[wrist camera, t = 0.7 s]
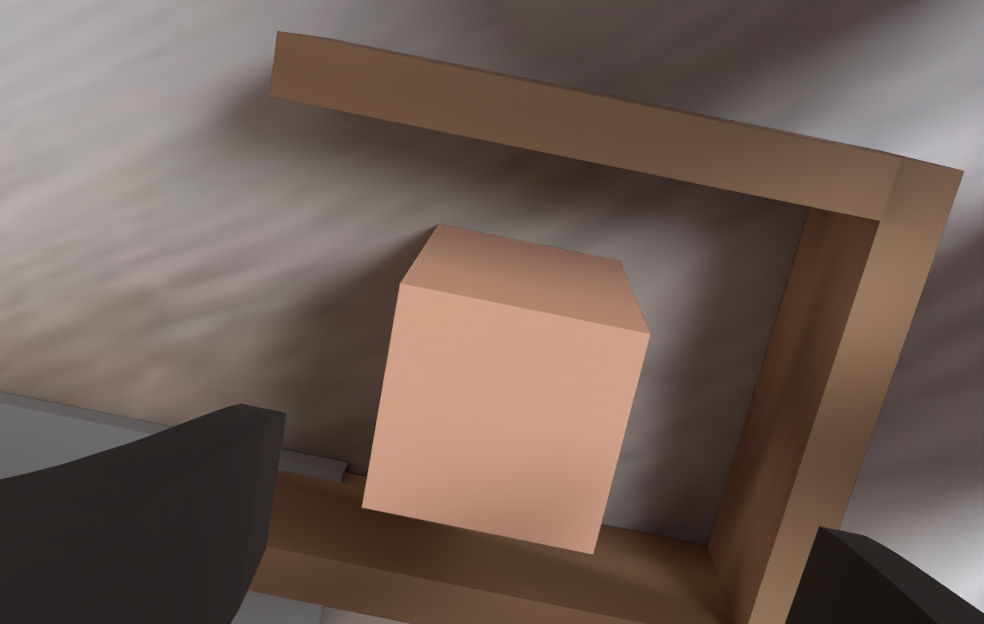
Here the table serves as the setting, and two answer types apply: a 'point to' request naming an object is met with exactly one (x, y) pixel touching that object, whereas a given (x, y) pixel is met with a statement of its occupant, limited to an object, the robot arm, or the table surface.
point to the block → (507, 389)
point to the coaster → (80, 432)
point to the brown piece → (775, 404)
